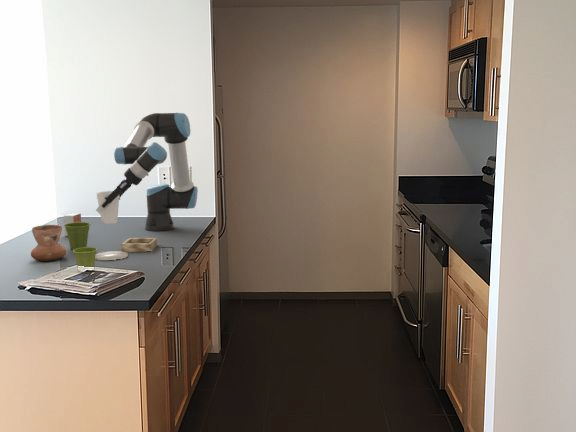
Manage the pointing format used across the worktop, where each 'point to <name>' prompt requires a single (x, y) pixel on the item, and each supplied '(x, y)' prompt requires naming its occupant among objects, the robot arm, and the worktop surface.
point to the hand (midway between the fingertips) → (101, 210)
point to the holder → (139, 244)
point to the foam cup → (108, 208)
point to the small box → (71, 219)
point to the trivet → (111, 255)
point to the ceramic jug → (47, 243)
